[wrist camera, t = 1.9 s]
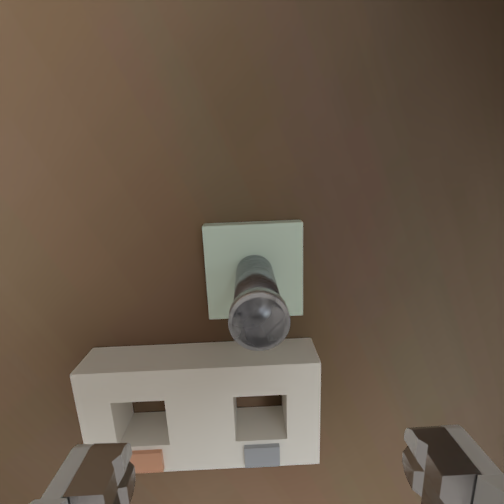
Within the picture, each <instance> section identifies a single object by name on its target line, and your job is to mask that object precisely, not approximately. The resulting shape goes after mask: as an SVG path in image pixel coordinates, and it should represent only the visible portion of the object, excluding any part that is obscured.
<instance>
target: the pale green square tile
mask: <svg viewBox="0 0 504 504" xmlns="http://www.w3.org/2000/svg"><path fill="white" fill-rule="evenodd" d="M202 234H203V247H204V260H205V273H206V285H207V298H208V311H209V320H210V319H228V318H229V310H230V306H231V304H232V302H233V301H234V291H235V279H236V269H237V266H238V264H239V262H240V261H241V260H242V259H244V258H245V257H247V256H250V255H259V256H262V257H264V258H266V259H267V260H268V261H269V262H270V264H271V266H272V269H273V273H274V276H275V280H276V283H277V287H278V290H279V294H280V296H281V297H282V298H283V300H284V301H285V303H286V306H287V309H288V312H289V315H290V316H298V315H303V222H302V221H301V220H300V219H299V220H275V221H251V222H228V223H204V224H203V226H202Z"/></svg>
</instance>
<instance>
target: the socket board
mask: <svg viewBox="0 0 504 504" xmlns="http://www.w3.org/2000/svg"><path fill="white" fill-rule="evenodd" d="M70 380H71V385H72V389H73V394H74V399H75V404H76V409H77V414H78V419H79V424H80V429H81V433H82V438H83V443H84V444H97V443H129V444H131V449H132V456H131V458H130V462H131V463H132V464H133V465H134V466H135V474H137V473H156V472H167V471H187V470H206V469H226V468H254V467H273V466H284V465H304V464H319V461H320V398H321V361H320V359H319V356H318V354H317V351H316V349H315V346H314V344H313V341H312V339H311V338H292V339H284V340H283V341H282V342H281V343H280V344H279V345H277V346H276V347H274V348H271V349H269V350H264V351H253V350H249V349H246V348H244V347H242V346H241V345H239V344H238V343H237V342H236V341H227V342H206V343H184V344H163V345H141V346H120V347H98V348H92V349H91V351H90V352H89V353H88V354H87V355H86V356H85V357H84V359H83V360H82V361H81V362H80V363H79V364H78V366H77V367H76V368H75V369H74V370H73V371H72V372H71V374H70ZM269 395H282V406H262V407H242V408H237V402H236V397H248V396H269ZM146 401H164V402H165V410H166V411H160V412H140V413H134V410H133V404H132V402H146Z"/></svg>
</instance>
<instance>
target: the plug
mask: <svg viewBox="0 0 504 504" xmlns="http://www.w3.org/2000/svg"><path fill="white" fill-rule="evenodd" d="M228 327H229V331H230V334H231V336H232V337H233V339H234V340H235V341H236V342H237V343H238V344H239V345H241V346H242V347H244V348H246V349H249V350H253V351H264V350H269V349H271V348H274V347H276V346H277V345H279V344H280V343H281V342H282V341H283V340H284V339H285V337H286V336H287V334H288V332H289V329H290V315H289V312H288V309H287V306H286V303H285V301H284V300H283V298H282V297H281V296H280V294H279V290H278V287H277V283H276V280H275V276H274V273H273V269H272V266H271V264H270V262H269V261H268V260H267V259H266V258H264V257H262V256H259V255H250V256H247V257H245V258H244V259H242V260H241V261H240V262H239V264H238V266H237V269H236V279H235V291H234V301H233V302H232V304H231V306H230V310H229V318H228Z"/></svg>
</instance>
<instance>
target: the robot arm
mask: <svg viewBox="0 0 504 504" xmlns="http://www.w3.org/2000/svg"><path fill="white" fill-rule="evenodd" d="M404 440H405V441H406V443H407V445H408V446H407V447H406V448H405V450H404V451H403V458H402V462H403V467H404V472H405V475H406V478H407V480H408V482H409V484H410V486H411V488H412V490H413V491H415V492H416V493H417V494H419V495H420V496H421V497H422V500H421V504H504V474H503V473H502V472H501V471H500V470H499V468H498V467H497V466H496V465H495V464H494V463H493V462H492V460H491V459H490V458H489V457H488V456H487V455H486V454H485V452H484V451H483V450H482V449H481V448H480V447H479V446H478V444H477V443H476V442H475V441H474V440H473V439H472V438H471V436H470V435H469V434H468V433H467V432H466V431H465V430H464V428H463V427H461V426H460V425H443V426H429V427H413V428H407V429H406V431H405V434H404ZM131 456H132V449H131V444H129V443H97V444H77V445H76V446H75V447H73V448H72V449H71V451H70V453H69V454H68V456H67V457H66V459H65V461H64V462H63V464H62V465H61V467H60V469H59V470H58V472H57V473H56V475H55V476H54V478H53V480H52V481H51V483H50V484H49V486H48V488H47V489H46V491H45V492H44V494H43V496H42V497H41V499H36V500H33V501H32V502H31V503H30V504H130V502H131V499H132V496H133V492H134V487H135V466H134V465H133V464H132V463H131V462H130V458H131Z"/></svg>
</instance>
